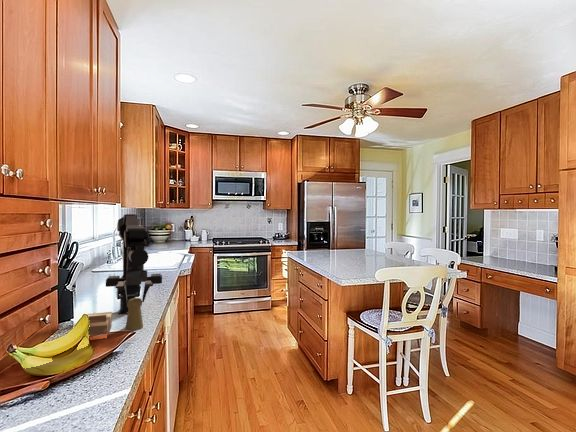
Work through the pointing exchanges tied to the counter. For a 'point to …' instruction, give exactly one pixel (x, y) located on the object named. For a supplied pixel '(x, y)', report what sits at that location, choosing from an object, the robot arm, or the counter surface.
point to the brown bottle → (134, 315)
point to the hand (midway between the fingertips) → (134, 302)
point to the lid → (99, 319)
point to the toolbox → (100, 329)
